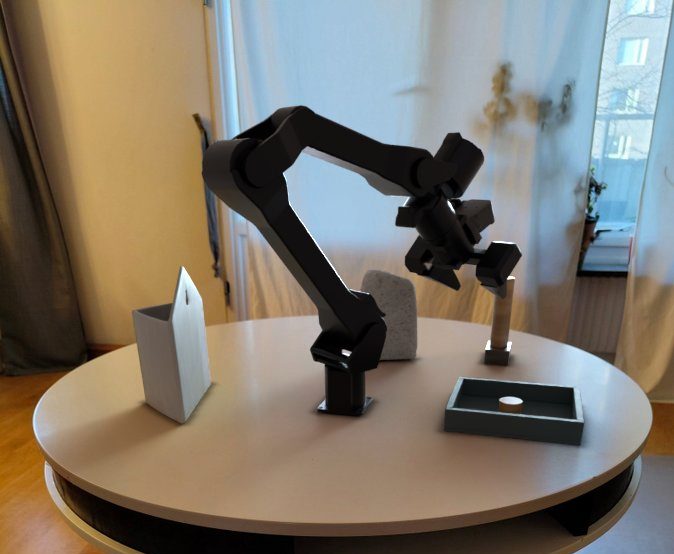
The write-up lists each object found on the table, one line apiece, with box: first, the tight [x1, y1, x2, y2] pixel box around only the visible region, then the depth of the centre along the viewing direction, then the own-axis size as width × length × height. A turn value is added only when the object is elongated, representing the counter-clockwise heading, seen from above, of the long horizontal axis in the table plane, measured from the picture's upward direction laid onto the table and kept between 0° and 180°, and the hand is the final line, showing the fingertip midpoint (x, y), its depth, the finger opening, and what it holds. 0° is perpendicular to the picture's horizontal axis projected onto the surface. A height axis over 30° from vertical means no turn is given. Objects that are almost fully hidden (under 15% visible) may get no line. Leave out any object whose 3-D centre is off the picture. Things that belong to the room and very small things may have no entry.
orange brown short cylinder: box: [498, 397, 523, 414], centre depth 82 cm, size 3×3×2 cm
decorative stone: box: [359, 269, 418, 361], centre depth 106 cm, size 11×6×15 cm, turn 84°
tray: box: [443, 376, 585, 446], centre depth 82 cm, size 14×17×3 cm
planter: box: [131, 265, 212, 424], centre depth 86 cm, size 16×8×19 cm, turn 178°
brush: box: [483, 275, 516, 366], centre depth 104 cm, size 6×4×14 cm, turn 163°
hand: (480, 292), depth 98 cm, fingers open, 9 cm apart
